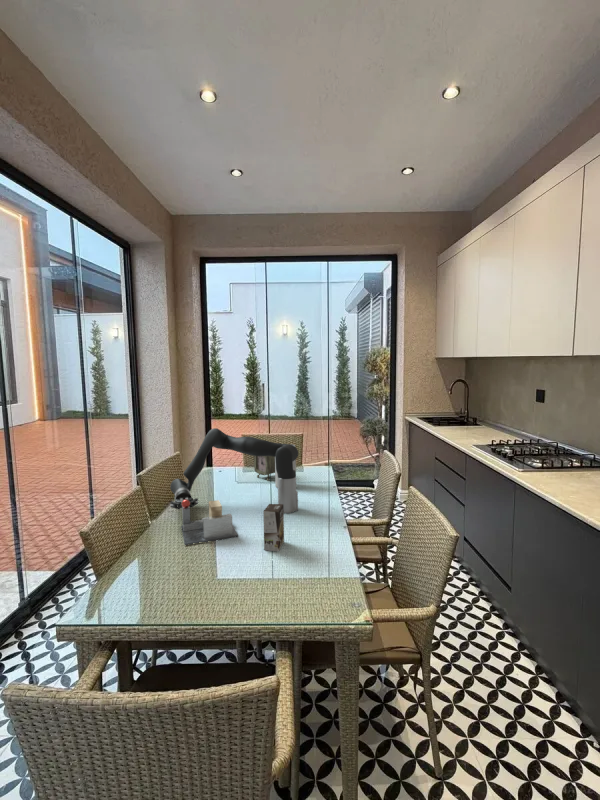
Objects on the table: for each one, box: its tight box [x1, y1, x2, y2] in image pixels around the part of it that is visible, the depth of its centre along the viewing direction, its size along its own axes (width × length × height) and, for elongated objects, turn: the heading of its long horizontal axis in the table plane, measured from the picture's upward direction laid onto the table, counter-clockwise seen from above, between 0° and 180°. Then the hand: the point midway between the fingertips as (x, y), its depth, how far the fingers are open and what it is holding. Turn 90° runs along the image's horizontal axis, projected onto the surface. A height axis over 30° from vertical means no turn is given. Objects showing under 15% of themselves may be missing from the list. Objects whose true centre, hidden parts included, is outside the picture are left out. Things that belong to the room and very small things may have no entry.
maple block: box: [208, 499, 223, 517], centre depth 172 cm, size 4×8×12 cm, turn 21°
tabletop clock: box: [253, 456, 275, 482], centre depth 256 cm, size 14×9×25 cm, turn 43°
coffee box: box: [263, 503, 285, 552], centre depth 159 cm, size 9×6×16 cm
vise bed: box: [180, 513, 239, 546], centre depth 173 cm, size 22×20×9 cm
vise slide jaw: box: [181, 500, 203, 531], centre depth 176 cm, size 21×4×14 cm, turn 111°
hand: (185, 509), depth 175 cm, fingers closed
